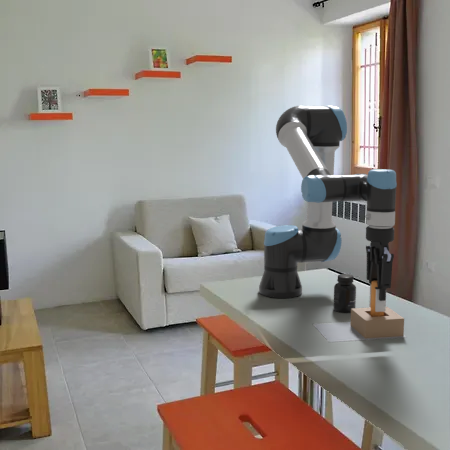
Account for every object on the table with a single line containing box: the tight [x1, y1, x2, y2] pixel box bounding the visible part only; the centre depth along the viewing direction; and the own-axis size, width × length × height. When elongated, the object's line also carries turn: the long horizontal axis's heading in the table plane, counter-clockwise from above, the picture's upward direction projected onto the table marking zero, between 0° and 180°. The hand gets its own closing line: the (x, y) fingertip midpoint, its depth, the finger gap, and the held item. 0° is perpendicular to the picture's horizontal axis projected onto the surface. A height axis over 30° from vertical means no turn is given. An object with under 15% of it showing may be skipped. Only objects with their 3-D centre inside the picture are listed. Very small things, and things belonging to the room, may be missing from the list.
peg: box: [370, 281, 384, 317], centre depth 165 cm, size 4×4×12 cm
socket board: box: [312, 306, 407, 343], centre depth 166 cm, size 15×22×6 cm
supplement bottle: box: [332, 273, 357, 314], centre depth 185 cm, size 7×7×12 cm
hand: (377, 308), depth 165 cm, fingers closed on peg, 3 cm apart
